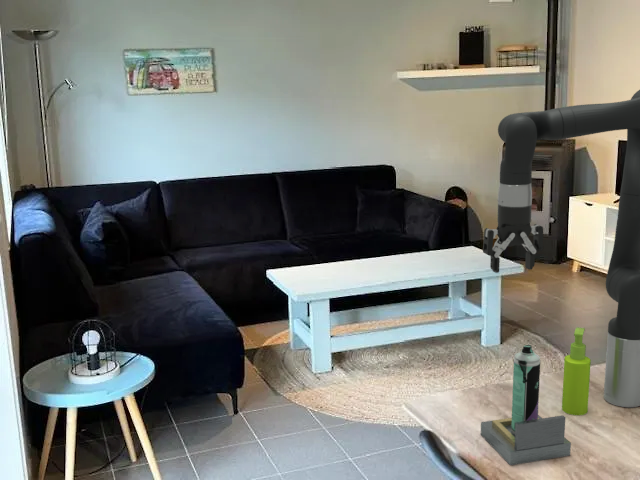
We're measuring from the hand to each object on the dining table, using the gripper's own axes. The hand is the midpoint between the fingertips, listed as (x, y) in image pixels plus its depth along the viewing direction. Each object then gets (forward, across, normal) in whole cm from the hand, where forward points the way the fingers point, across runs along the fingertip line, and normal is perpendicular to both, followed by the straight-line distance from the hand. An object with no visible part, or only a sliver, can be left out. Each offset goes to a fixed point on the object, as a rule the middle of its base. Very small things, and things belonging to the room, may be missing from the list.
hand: (512, 270), depth 178 cm
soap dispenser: (+34, +14, -7) cm, 38 cm away
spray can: (+31, -6, -19) cm, 37 cm away
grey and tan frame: (+34, -6, -19) cm, 39 cm away
